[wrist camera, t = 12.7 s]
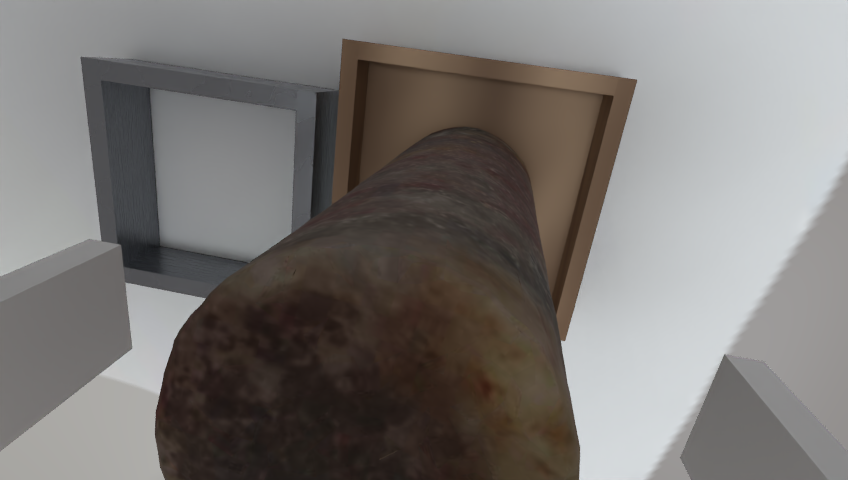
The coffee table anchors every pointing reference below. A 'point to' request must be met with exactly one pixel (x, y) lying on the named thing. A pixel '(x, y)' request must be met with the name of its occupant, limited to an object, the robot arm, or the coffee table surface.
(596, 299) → the coffee table surface
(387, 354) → the rusty brown cylinder
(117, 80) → the collar
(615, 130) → the tray
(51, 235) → the coffee table surface
